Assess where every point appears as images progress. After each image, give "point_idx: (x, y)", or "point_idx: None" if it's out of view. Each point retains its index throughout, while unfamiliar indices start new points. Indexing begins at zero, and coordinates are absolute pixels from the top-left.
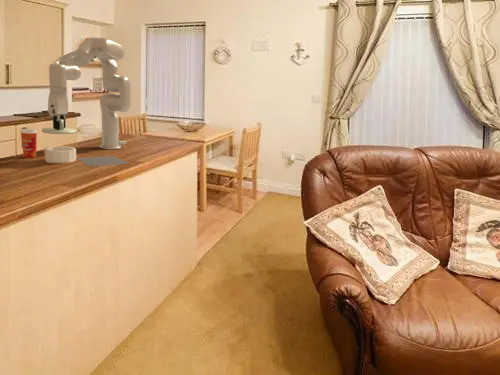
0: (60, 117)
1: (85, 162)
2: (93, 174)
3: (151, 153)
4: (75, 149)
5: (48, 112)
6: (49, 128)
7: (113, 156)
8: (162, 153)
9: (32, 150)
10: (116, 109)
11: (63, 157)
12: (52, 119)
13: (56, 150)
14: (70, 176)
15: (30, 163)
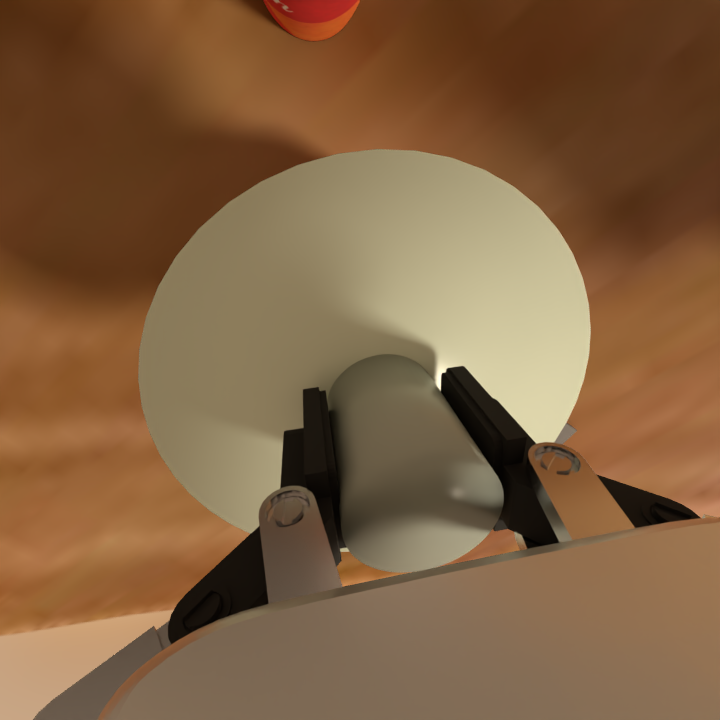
0: (540, 498)
1: None
2: (204, 563)
3: (703, 488)
4: None
5: (99, 717)
6: (377, 245)
7: (563, 437)
8: (713, 513)
9: (287, 13)
10: None
11: None
12: (259, 519)
13: None
14: (102, 535)
15: (135, 184)
